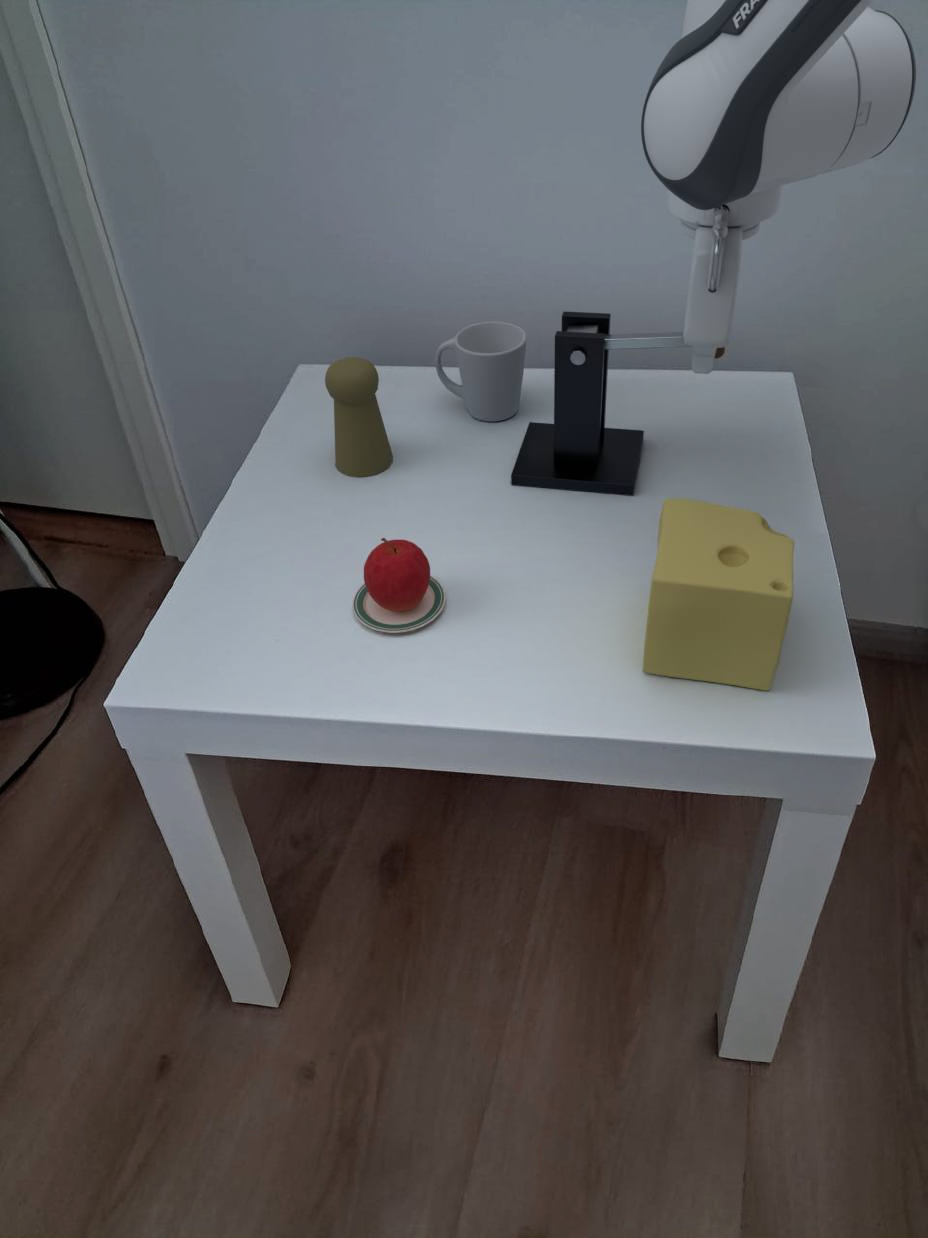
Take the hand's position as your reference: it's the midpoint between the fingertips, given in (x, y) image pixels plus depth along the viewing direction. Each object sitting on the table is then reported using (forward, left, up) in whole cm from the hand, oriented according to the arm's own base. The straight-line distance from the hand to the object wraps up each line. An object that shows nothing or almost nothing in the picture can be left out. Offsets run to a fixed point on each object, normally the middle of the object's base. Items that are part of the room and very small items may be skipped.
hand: (704, 347), depth 84 cm
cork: (+33, +3, -13) cm, 36 cm away
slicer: (+11, 0, -13) cm, 17 cm away
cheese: (-3, +24, -13) cm, 28 cm away
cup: (+23, -9, -13) cm, 28 cm away
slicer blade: (+5, 0, -1) cm, 5 cm away
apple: (+23, +24, -13) cm, 36 cm away
